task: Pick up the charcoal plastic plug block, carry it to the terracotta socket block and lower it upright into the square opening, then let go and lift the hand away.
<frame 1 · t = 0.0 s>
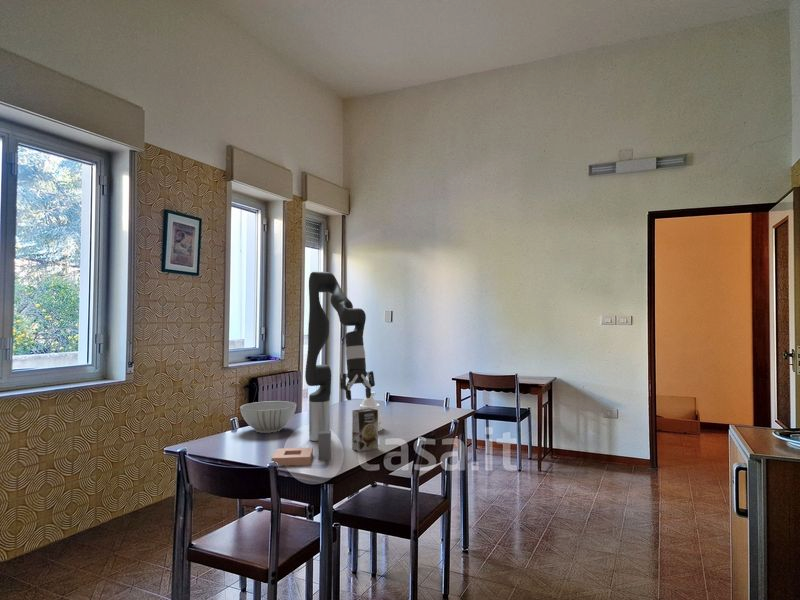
hand: (358, 399, 202), 22 cm above the table, tool pointing down, fingers open, 8 cm apart
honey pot: (369, 429, 251), on the table
plug: (324, 458, 200), on the table
decorative bowl: (268, 430, 251), on the table
coffee box: (365, 449, 213), on the table
socket: (292, 460, 197), on the table
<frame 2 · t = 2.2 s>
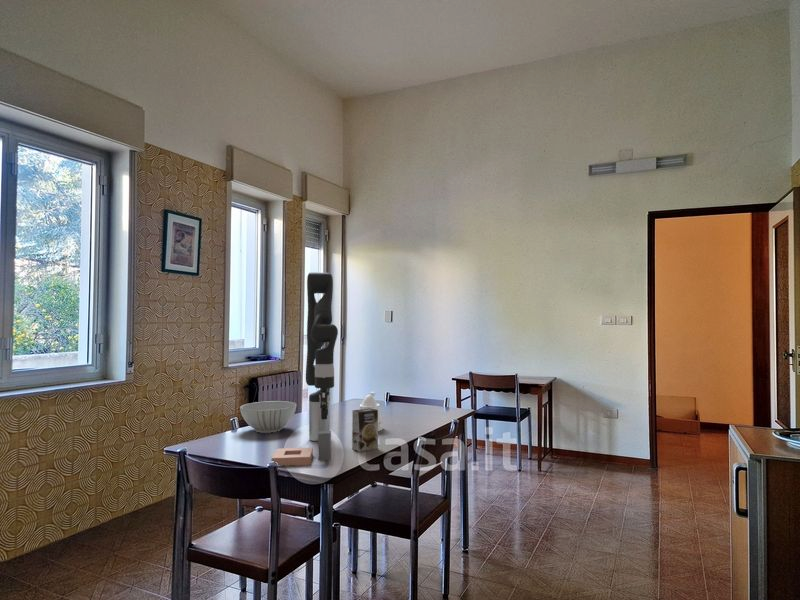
hand: (324, 417, 200), 16 cm above the table, tool pointing down, fingers open, 8 cm apart
nothing on the table moved.
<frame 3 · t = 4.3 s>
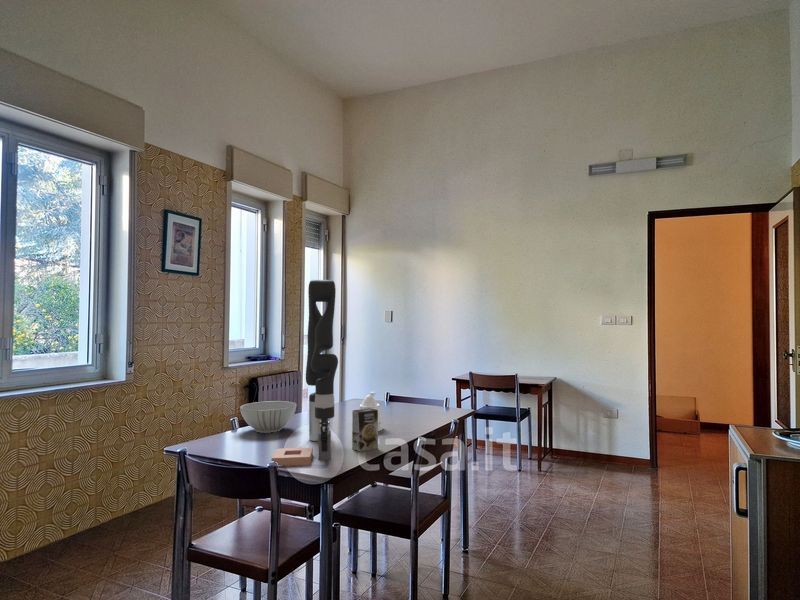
hand: (324, 449, 200), 3 cm above the table, tool pointing down, fingers closed on plug, 4 cm apart
plug: (324, 458, 200), on the table, touching gripper
everything else where it was.
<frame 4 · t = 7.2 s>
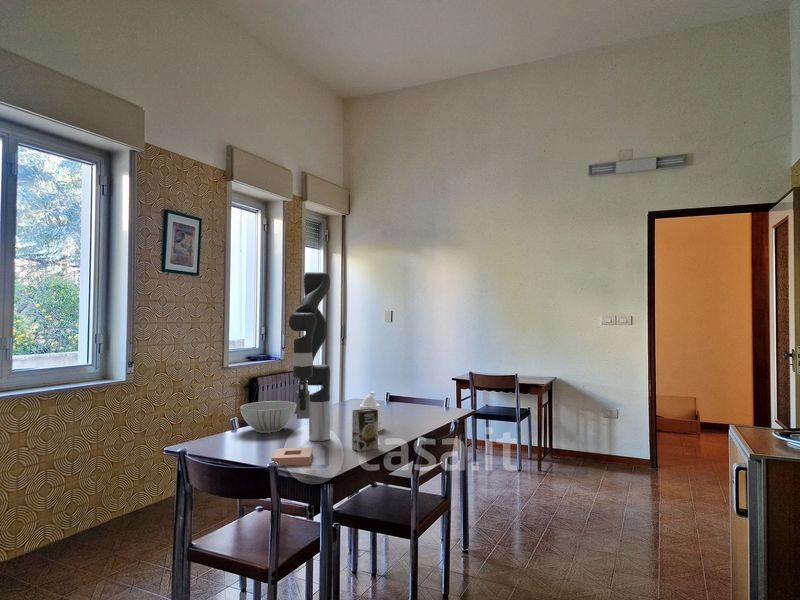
hand: (303, 408, 198), 19 cm above the table, tool pointing down, fingers closed on plug, 4 cm apart
plug: (303, 417, 198), point 16 cm above the table, touching gripper
everything else where it was.
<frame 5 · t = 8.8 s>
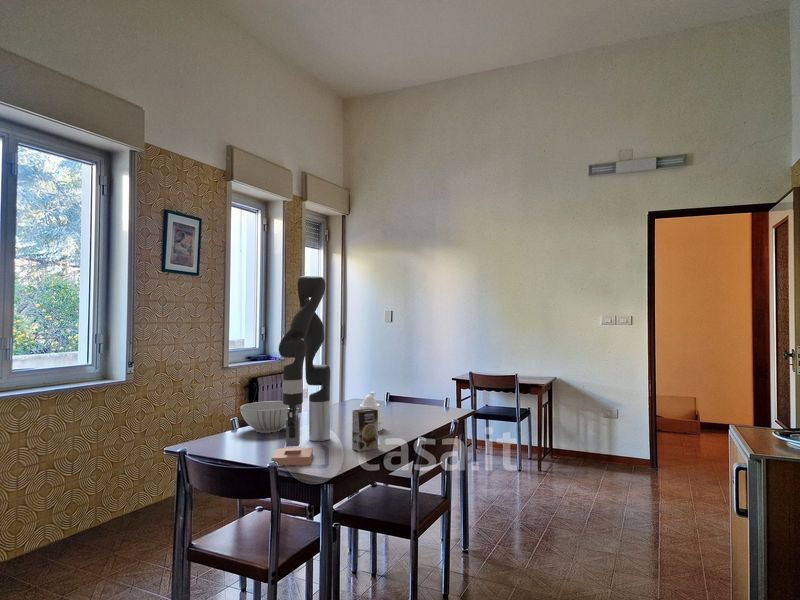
hand: (292, 435, 197), 9 cm above the table, tool pointing down, fingers closed on plug, 4 cm apart
plug: (293, 444, 197), point 6 cm above the table, touching gripper
everything else where it was.
when the fingers open (5 cm above the table, at t = 10.0 s): plug drops 2 cm, resting in socket.
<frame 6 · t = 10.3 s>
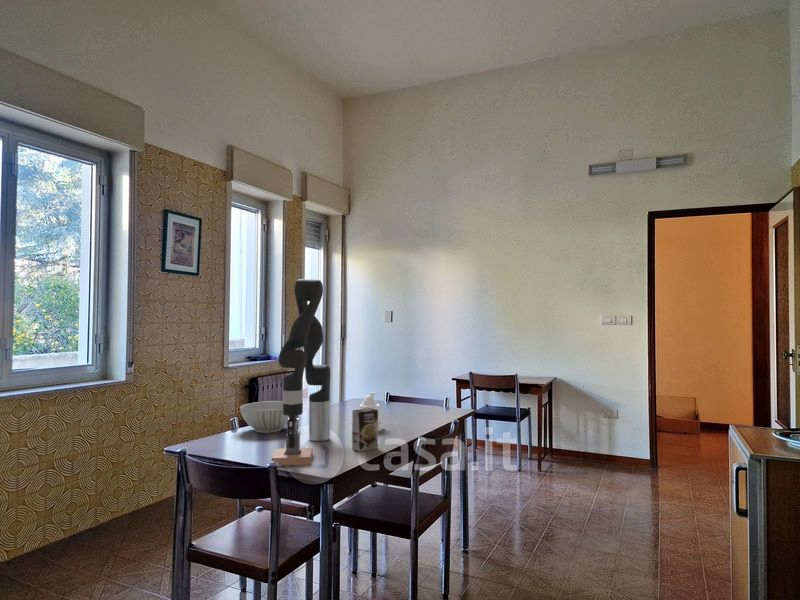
hand: (292, 445, 197), 6 cm above the table, tool pointing down, fingers open, 6 cm apart
plug: (293, 460, 197), resting in socket
everything else where it was.
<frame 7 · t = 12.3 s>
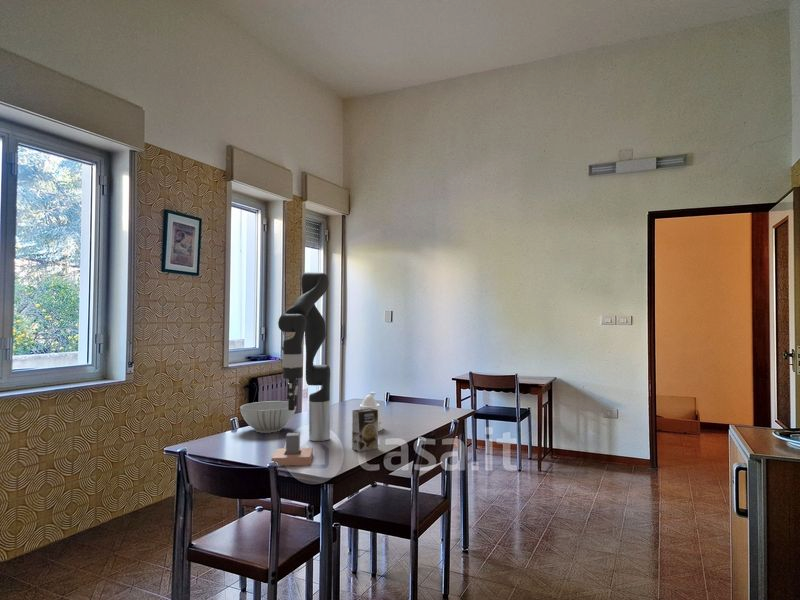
hand: (292, 408, 197), 20 cm above the table, tool pointing down, fingers open, 8 cm apart
nothing on the table moved.
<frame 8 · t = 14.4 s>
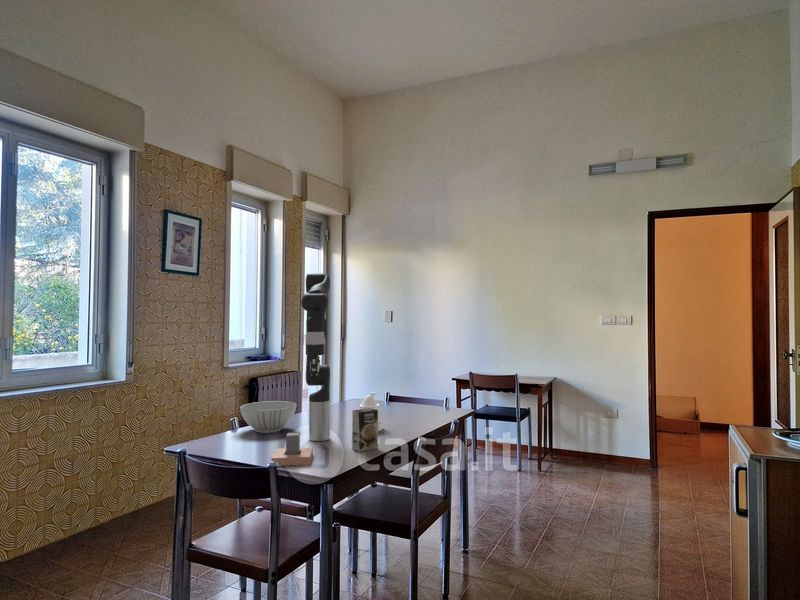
hand: (315, 383, 206), 28 cm above the table, tool pointing down, fingers open, 8 cm apart
nothing on the table moved.
at the end: plug 0.1 cm off-centre on the socket, point 0.0 cm above the socket's base; plug tilted 0°; the gripper is holding nothing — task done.
